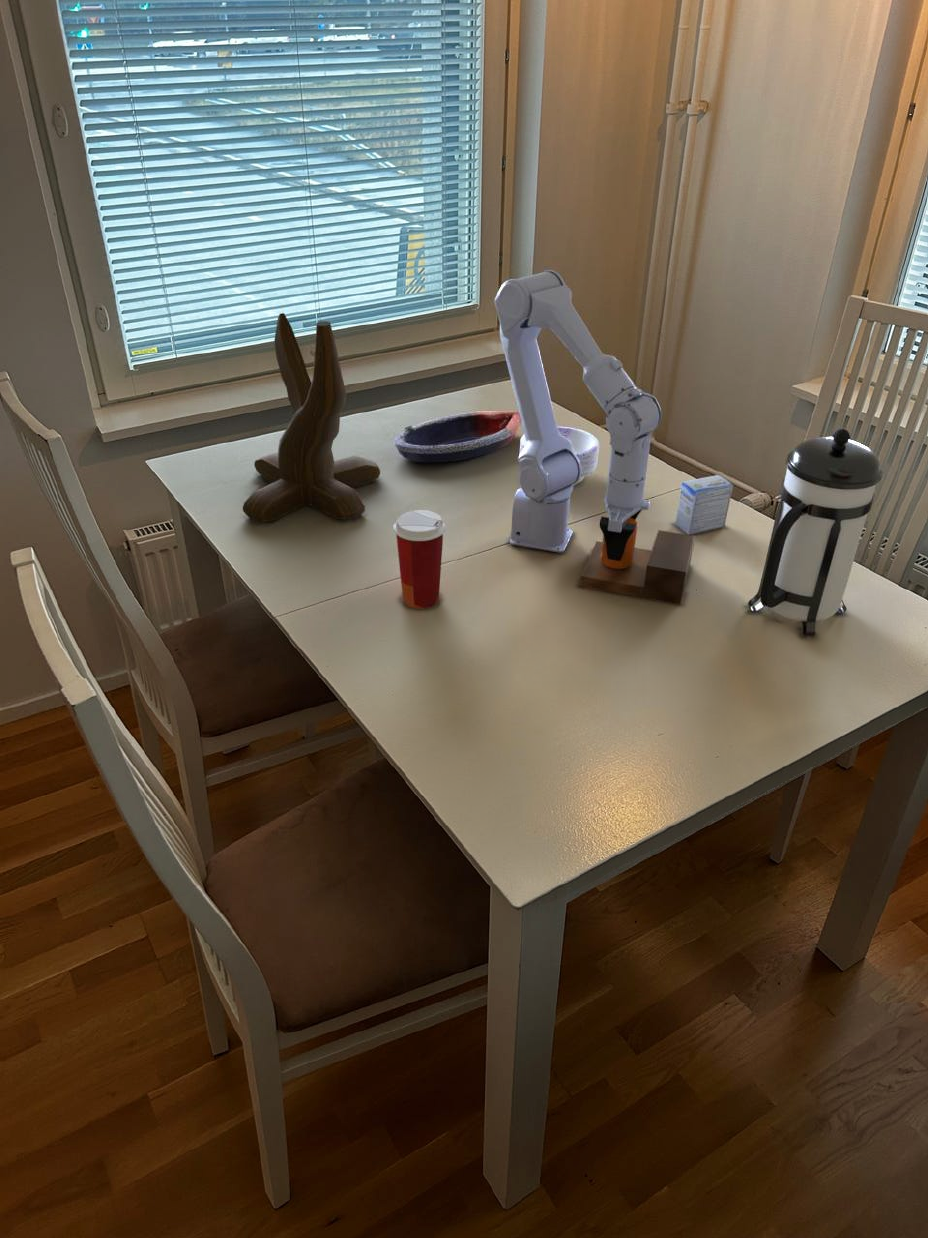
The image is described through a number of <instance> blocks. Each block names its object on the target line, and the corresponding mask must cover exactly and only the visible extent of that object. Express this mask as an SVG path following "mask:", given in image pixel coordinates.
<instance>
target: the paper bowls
mask: <svg viewBox="0 0 928 1238" xmlns="http://www.w3.org/2000/svg"><path fill="white" fill-rule="evenodd" d="M557 428H558V432H559V434H560V435H561V436H563V437H565V438H566V439H568V440H569V441H571V443H572V447H573V450H574V453H575V454H576V456H577V457H578V459H579V461H580V463H581V468H582V474H581V477H580V479H579V481H578V482H577V483H576V484H573V486H575V485H577V484H579V483H581V482H582V481H583V480H584V478H585V476H589V475H590V474H592V473H593V472H595V471H596V469H597V467H598V460H599V453H600V452H599V451H600V442H599V440H598V438H597V437H596V436H594V435H593V434H592V433H590V432H588V431H586V430H582V429H578V428H575V427H568V426H557ZM525 445H526V437H525V433H524V434H523V435H521V437H520V443H519V446H520V447H519V455H520V454H521V452H522V450H523V448H524V446H525ZM548 456H549V455H548Z"/></svg>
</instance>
